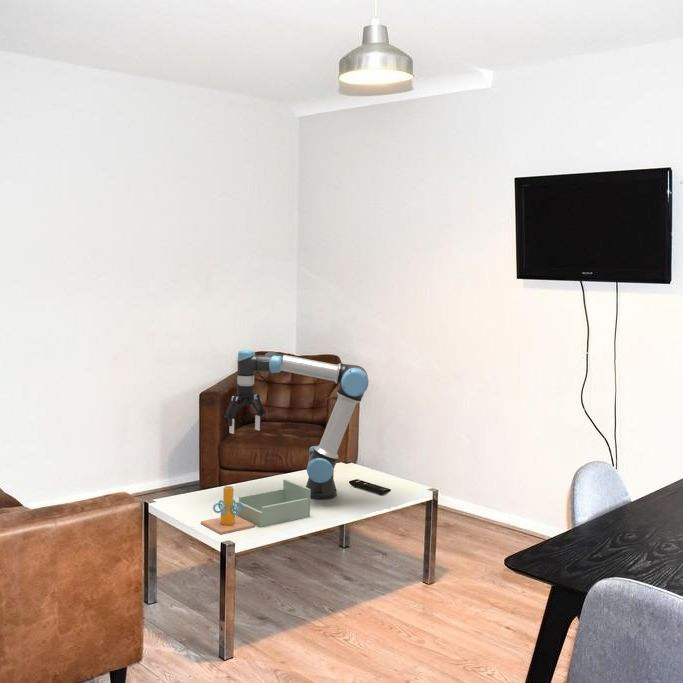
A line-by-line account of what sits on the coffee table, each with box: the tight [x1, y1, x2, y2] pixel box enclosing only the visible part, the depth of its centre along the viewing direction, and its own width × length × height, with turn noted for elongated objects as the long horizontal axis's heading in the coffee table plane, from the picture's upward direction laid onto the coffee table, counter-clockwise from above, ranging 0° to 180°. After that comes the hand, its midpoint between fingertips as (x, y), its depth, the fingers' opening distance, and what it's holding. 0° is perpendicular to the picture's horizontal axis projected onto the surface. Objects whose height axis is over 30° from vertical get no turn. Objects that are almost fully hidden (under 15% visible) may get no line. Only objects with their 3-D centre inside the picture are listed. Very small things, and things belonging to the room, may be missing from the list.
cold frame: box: [236, 479, 311, 528], centre depth 348 cm, size 25×18×12 cm
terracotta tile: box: [200, 515, 256, 535], centre depth 335 cm, size 16×16×1 cm
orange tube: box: [212, 485, 243, 525], centre depth 334 cm, size 12×10×15 cm
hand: (244, 431), depth 367 cm, fingers open, 13 cm apart
